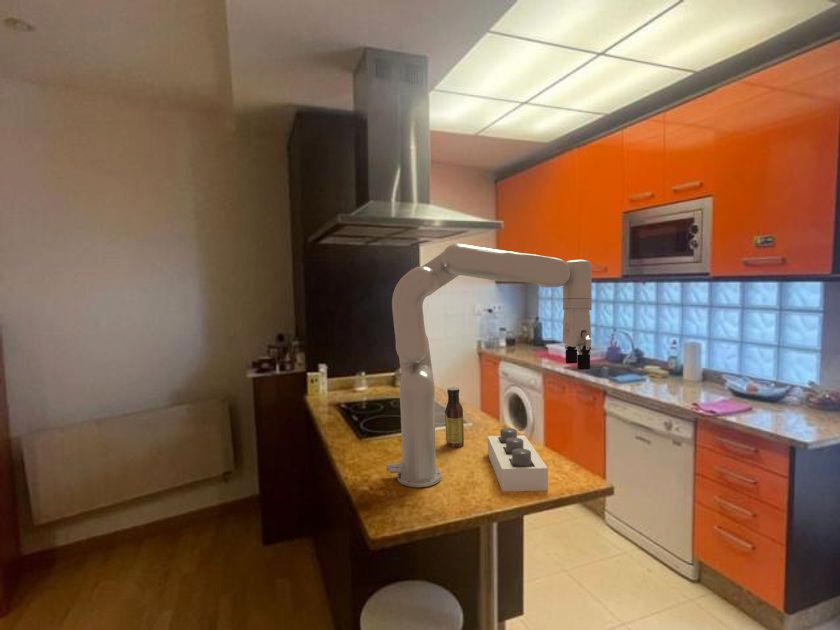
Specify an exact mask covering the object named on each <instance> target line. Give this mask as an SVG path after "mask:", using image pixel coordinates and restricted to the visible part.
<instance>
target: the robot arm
mask: <svg viewBox="0 0 840 630" xmlns="http://www.w3.org/2000/svg"><path fill="white" fill-rule="evenodd" d="M592 271H593V269H592V263H591V262H590V261H589V260H586V259H585V260H584V259H573V260H572V259H571V260H567V261H565V260H563V259H561V258H557V257H552V256H545V255H539V254H532V253H523V252H517V251H516V252H515V251H510V250H509V251H508V250H503V249H493V248H489V247H482V246H476V245H470V244H466V243H465V244H464V243H452V244H450V245H448V246H447V247H446V248H445V249H444V250H443V251H442V252H441V253H440V254H438V255H437V256H435V257H434V258H433V259H431V260H430V261H428V262H427V263H425V264H423V265H421V266H416V267H414V268H412V269H410V270H409V271H407V273H405V274H404V275H403V276H402V277H401V278H400V279H399V281H398V282H397V284H396V285H395V288H394V291H393V293H392V299H391V308H392V318H393V319H392V320H393V328H394V335H395V336H394V338H395V351H396V353H397V356H398V358H399V360H398V361H399V367H400V374H401V377H400V378H401V379H400V383H399V401H400V402H399V404H400V427H401V428H400V429H401V430H400V431H401V461H400V462H397V463H386V471H390V474H397V475H396V477H397V482H398V483H400V485H404V486H406V487H410V488H411V487H412V488H427V487H430V486H433V485H436V484H438V483H439V482H440V481H441V480H442V472H441V471H440V469H438V468H437V462H436V461H437V456H436V422H435V419H436V418H435V416H436V415H435V393H436V392H435V379H434V374H433V366H432V359H431V351H430V350H431V349H430V344H429V338H428V336H427V332H426V327H425V319H424V309H423V307H424V306H423V305H424V302H425V299H426V297H429V296H431V295H432V294H433V293H435V292H436V291H438V290H439V289H441V288H442V287H444V286H445V285H447V284H449V283H450V282H452V281H453V280H454V279H456V278H458V276H463V277H470V278H477V279H482V280H489V281H495V282H518V283H519V282H521V283H528V284H534V285H538V286H539V287H542V288H548V289H549V288H559V287H562V311H563V312H564V313H563V321H562V339H561V340H562V343H563V344H564V345H565V364H567V365H568V364H577V369H578V370H590V369H591V349H592V347H591V345H592V327H591V326H592V325H591V311H592V310H593V309H592V308H593V307H592V306H593V305H592V303H593V301H592V299H593V298H592V294H593V293H592V292H593V291H592V287H593V286H592V281H593V280H592V277H593V274H592V273H593V272H592Z"/></svg>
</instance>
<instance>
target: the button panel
mask: <svg viewBox="0 0 840 630" xmlns="http://www.w3.org/2000/svg"><path fill="white" fill-rule="evenodd" d="M517 438H520V439H522V440H523V449H527V450H529V451H531V467H512V454H509V455H506V443H503V444H501V435H487V456H488V458H489V461H490V462H491V466H492V468H493V471H494V473H495V476H496V478H497V481H498V484H499V487H500V489H501V491H502V492H529V491H530V492H532V491H534V492H535V491H537V492H538V491H540V492H541V491H546V490H547V491H549V468H548V466H547V465H546V463H545V462H544V461H543V459H542V458H541V455H540V454H539V453H538V451H536V449H535V448H534V446H533V445H532V443H531V442H530V441H529V439H528V437H527V436H526V435H523V434H521V435H517Z"/></svg>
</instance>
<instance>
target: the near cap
mask: <svg viewBox="0 0 840 630" xmlns="http://www.w3.org/2000/svg"><path fill="white" fill-rule="evenodd" d="M512 467H531V451H529V450H527V449H521V448H519V449H514V450H512Z"/></svg>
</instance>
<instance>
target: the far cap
mask: <svg viewBox="0 0 840 630" xmlns="http://www.w3.org/2000/svg"><path fill="white" fill-rule="evenodd" d="M499 432H500V436H501V444H503V443H506V439H507V438H517V436H518V434H517V433H518V430H517V429H516V428H511V427H504V428H501V429H500V431H499Z"/></svg>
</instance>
